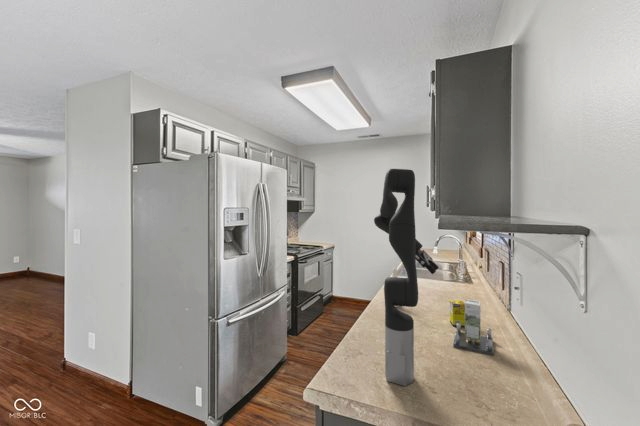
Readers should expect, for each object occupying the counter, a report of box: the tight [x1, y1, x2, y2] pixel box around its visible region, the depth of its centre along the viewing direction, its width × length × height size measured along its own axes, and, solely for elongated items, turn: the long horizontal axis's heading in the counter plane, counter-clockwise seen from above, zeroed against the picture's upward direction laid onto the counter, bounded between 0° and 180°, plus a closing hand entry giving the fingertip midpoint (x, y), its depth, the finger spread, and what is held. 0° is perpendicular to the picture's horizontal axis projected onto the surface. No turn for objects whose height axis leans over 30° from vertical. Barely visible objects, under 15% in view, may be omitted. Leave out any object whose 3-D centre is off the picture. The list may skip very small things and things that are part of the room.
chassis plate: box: [452, 323, 495, 356], centre depth 117 cm, size 14×14×5 cm
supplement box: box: [449, 299, 465, 328], centre depth 137 cm, size 6×6×11 cm
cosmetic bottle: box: [391, 267, 400, 308], centre depth 165 cm, size 6×6×22 cm
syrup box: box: [464, 298, 482, 340], centre depth 117 cm, size 6×6×14 cm
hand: (435, 270), depth 126 cm, fingers open, 8 cm apart
